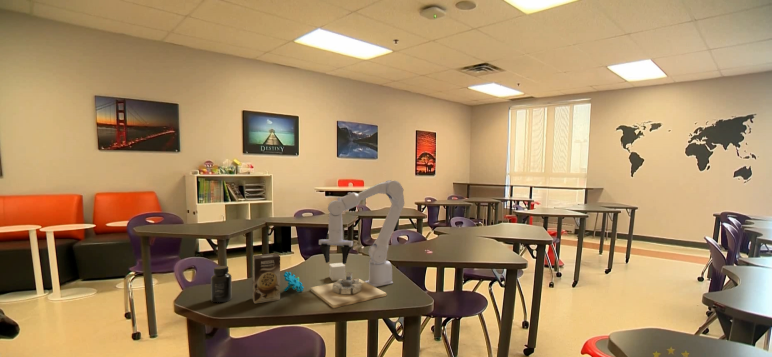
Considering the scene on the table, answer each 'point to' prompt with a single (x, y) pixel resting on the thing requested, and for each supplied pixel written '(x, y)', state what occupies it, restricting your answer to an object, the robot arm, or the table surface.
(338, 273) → the cream cube
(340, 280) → the faceted metal ring
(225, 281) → the supplement bottle
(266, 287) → the cookie box
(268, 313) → the table surface
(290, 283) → the gear
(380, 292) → the beige square board
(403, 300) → the table surface
